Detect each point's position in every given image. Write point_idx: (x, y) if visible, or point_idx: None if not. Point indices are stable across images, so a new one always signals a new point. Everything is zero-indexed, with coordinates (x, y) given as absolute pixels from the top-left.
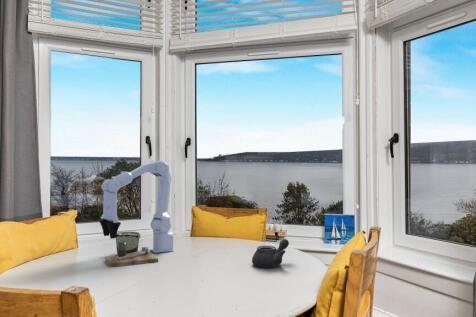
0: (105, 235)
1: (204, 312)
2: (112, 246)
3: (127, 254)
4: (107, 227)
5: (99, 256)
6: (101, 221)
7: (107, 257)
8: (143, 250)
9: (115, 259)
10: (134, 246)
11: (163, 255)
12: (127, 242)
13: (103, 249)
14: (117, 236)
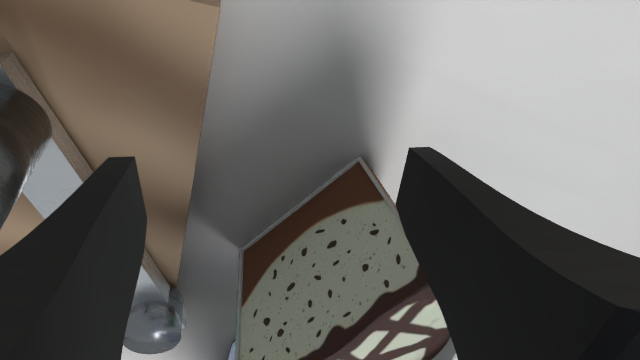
0: (409, 165)
1: None
2: (614, 209)
3: (46, 182)
4: (461, 287)
5: (424, 15)
6: (611, 325)
7: (185, 14)
8: (131, 310)
9: (34, 47)
10: (259, 295)
11: (140, 356)
12: (313, 288)
13: (604, 135)
14: (416, 276)
